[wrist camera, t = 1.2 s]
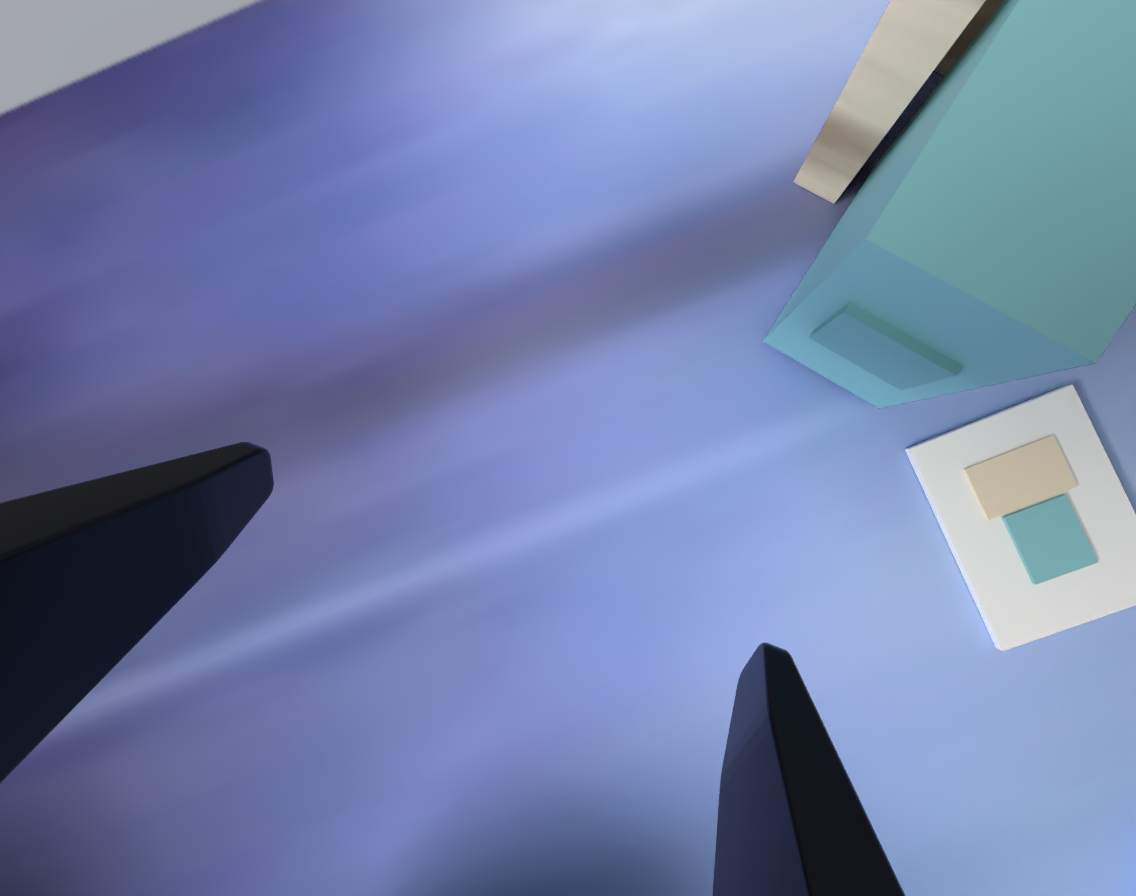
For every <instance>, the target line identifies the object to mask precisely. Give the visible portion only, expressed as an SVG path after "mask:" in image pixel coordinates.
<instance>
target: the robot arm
mask: <svg viewBox="0 0 1136 896" xmlns="http://www.w3.org/2000/svg"><path fill="white" fill-rule="evenodd" d="M273 486H274V480H273V472H272V465H271V457H270V453H269V452H268V450H267V449H265V448H263V447H260V446H258V445H255V444H252V443H249V442H241V443H237V444H233V445H229V446H225V447H221V448H217V449H213V450H209V451H205V452H201V453H197V454H193V455H189V456H185V457H181V458H177V459H173V460H169V461H166V462H162V463H158V464H154V465H150V466H146V467H142V468H138V469H134V470H130V471H126V472H122V473H118V474H114V475H110V476H106V477H102V478H98V479H94V480H90V481H86V482H82V483H78V484H74V485H70V486H66V487H62V488H58V489H54V490H50V491H46V492H42V493H38V494H34V495H30V496H26V497H22V498H18V499H14V500H10V501H6V502H2V503H0V783H1V782H2V781H3V780H4V779H5V778H6V777H7V776H8V775H9V774H10V773H11V772H12V771H13V770H14V769H15V767H16V766H17V765H18V764H19V763H20V762H21V761H22V760H23V759H24V758H25V757H26V756H27V755H28V754H29V753H30V752H31V751H32V750H33V749H34V748H35V747H36V746H37V745H38V744H39V743H40V742H41V741H42V740H43V739H44V738H45V737H46V736H47V735H48V734H49V733H50V732H51V731H52V730H53V729H54V728H55V727H56V726H57V725H58V724H59V723H60V722H61V721H62V720H63V718H64V717H65V716H66V715H67V714H68V713H69V712H70V711H71V710H72V709H73V708H74V707H75V706H76V705H77V704H78V703H79V702H80V701H81V700H82V699H83V698H84V697H85V696H86V695H87V694H88V693H89V692H90V691H91V690H92V689H93V688H94V687H95V686H96V685H97V684H98V683H99V682H100V681H101V680H102V679H103V678H104V677H105V676H106V675H107V674H108V673H109V672H110V671H111V669H112V668H113V667H114V666H115V665H116V664H117V663H118V662H119V661H120V660H121V659H122V658H123V657H124V656H125V655H126V654H127V653H128V652H129V651H130V650H131V649H132V648H133V647H134V646H135V645H136V644H137V643H138V642H139V641H140V640H141V639H142V638H143V637H144V636H145V635H146V634H147V633H148V632H149V631H150V630H151V629H152V628H153V627H154V626H155V625H156V624H157V623H158V622H159V621H160V619H161V618H162V617H163V616H164V615H165V614H166V613H167V612H168V611H169V610H170V609H171V608H172V607H173V606H174V605H175V604H176V603H177V602H178V601H179V600H180V599H181V598H182V597H183V596H184V595H185V594H186V593H187V592H188V591H189V590H190V589H191V588H192V587H193V586H194V585H195V584H196V583H197V582H198V581H199V580H200V579H201V578H202V577H203V576H204V575H205V574H206V573H207V571H208V570H209V569H210V568H211V567H212V566H213V565H214V564H215V563H216V562H217V561H218V559H219V558H220V557H221V556H222V555H223V554H224V552H225V551H226V550H227V549H228V548H229V546H230V545H231V544H232V543H233V541H234V540H235V539H236V538H237V536H238V535H239V534H240V533H241V531H242V530H243V529H244V528H245V526H246V525H247V524H248V523H249V521H250V520H251V519H252V518H253V516H254V515H255V514H256V513H257V511H258V510H259V509H260V508H261V506H262V505H263V504H264V503H265V501H266V500H267V499H268V497H269V496H270V494H271V492H272V490H273ZM713 896H905V894H904V892H903V890H902V888H901V886H900V884H899V882H898V880H897V878H896V875H895V873H894V871H893V869H892V867H891V865H890V863H889V861H888V859H887V856H886V854H885V852H884V850H883V848H882V846H881V844H880V842H879V840H878V838H877V835H876V833H875V831H874V829H873V827H872V825H871V823H870V821H869V819H868V817H867V814H866V812H865V810H864V808H863V806H862V804H861V802H860V800H859V798H858V795H857V793H856V791H855V789H854V787H853V785H852V783H851V781H850V779H849V777H848V774H847V772H846V770H845V768H844V766H843V764H842V762H841V760H840V758H839V756H838V753H837V751H836V749H835V747H834V745H833V743H832V741H831V739H830V737H829V734H828V732H827V730H826V728H825V726H824V724H823V722H822V720H821V718H820V716H819V713H818V711H817V709H816V707H815V705H814V703H813V701H812V699H811V697H810V695H809V692H808V690H807V688H806V686H805V684H804V682H803V680H802V678H801V676H800V674H799V671H798V669H797V667H796V665H795V663H794V661H793V659H792V657H791V655H790V654H789V653H788V652H787V651H786V650H784V649H782V648H779V647H776V646H774V645H771V644H769V643H762V644H760V645H759V647H758V648H757V649H756V651H755V652H754V654H753V655H752V657H751V658H750V660H749V661H748V663H747V664H746V666H745V667H744V669H743V670H742V672H741V675H740V677H739V681H738V685H737V690H736V696H735V701H734V707H733V712H732V718H731V723H730V728H729V734H728V739H727V745H726V750H725V756H724V761H723V767H722V773H721V782H720V793H719V808H718V824H717V839H716V854H715V869H714V884H713Z"/></svg>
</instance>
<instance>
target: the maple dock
mask: <svg viewBox="0 0 1136 896" xmlns="http://www.w3.org/2000/svg"><path fill="white" fill-rule="evenodd" d="M1003 1H1004V0H891V1H890V2H889V4H888V6H887V8H886V10H885V12H884V14H883V16H882V17H881V19H880V21H879V23H878V25H877V27H876V29H875V30H874V32H873V34H872V36H871V38H870V40H869V42H868V43H867V45H866V47H865V49H864V51H863V53H862V55H861V57H860V58H859V60H858V62H857V64H856V66H855V68H854V70H853V71H852V73H851V75H850V77H849V79H848V81H847V83H846V84H845V86H844V88H843V90H842V92H841V94H840V96H839V98H838V99H837V101H836V103H835V105H834V107H833V109H832V111H831V112H830V114H829V116H828V118H827V120H826V122H825V124H824V125H823V127H822V129H821V131H820V133H819V135H818V137H817V139H816V140H815V142H814V144H813V146H812V148H811V150H810V152H809V153H808V155H807V157H806V159H805V161H804V163H803V165H802V167H801V168H800V170H799V172H798V174H797V176H796V178H795V180H794V181H793V182H794V183H796V184H797V185H799V186H801V187H803V188H805V189H807V190H809V191H811V192H812V193H814V194H816V195H818V196H820V197H822V198H824V199H825V200H827V201H829V202H831V203H833V204H835V202H836V201H837V200H838V198H839V197H840V196H841V194H842V193H843V191H844V190H845V189H846V187H847V186H848V185H849V183H850V182H851V181H852V179H853V178H854V177H855V175H856V174H857V173H858V171H859V170H860V169H861V167H862V166H863V165H864V163H865V162H866V161H867V159H868V158H869V157H870V155H871V154H872V153H873V151H874V150H875V149H876V147H877V146H878V144H879V143H880V142H881V140H882V139H883V138H884V136H885V135H886V134H887V132H888V131H889V130H890V128H891V127H892V126H893V124H894V123H895V122H896V120H897V119H898V118H899V116H900V115H901V114H902V112H903V111H904V110H905V108H906V107H907V106H908V104H909V103H910V102H911V100H912V99H913V97H914V96H915V95H916V93H917V92H918V91H919V89H920V88H921V87H922V85H923V84H924V83H925V81H926V80H927V79H928V77H929V76H930V75H931V73H932V72H933V71H935V72H937V73H939V74H941V75H943V76H945V75H946V73H947V72H948V71H949V69H950V68H951V67H952V66H953V64H954V63H955V62H956V61H957V59H958V58H959V57H960V55H961V54H962V53H963V52H964V50H965V49H966V48H967V47H968V45H969V44H970V43H971V41H972V40H973V39H974V38H975V36H976V35H977V34H978V32H979V31H980V30H981V29H982V27H983V26H984V25H985V24H986V22H987V21H988V20H989V18H990V17H991V16H992V15H993V13H994V12H995V11H996V9H997V8H998V7H999V6H1000V4H1001V3H1002V2H1003Z"/></svg>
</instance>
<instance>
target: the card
mask: <svg viewBox="0 0 1136 896" xmlns="http://www.w3.org/2000/svg"><path fill="white" fill-rule="evenodd" d="M905 451H906V453H907V455H908V457H909V460H910V462H911V464H912V466H913V468H914V471H915V473H916V475H917V477H918V479H919V481H920V484H921V486H922V488H923V490H924V492H925V494H926V497H927V499H928V501H929V503H930V505H931V508H932V510H933V512H934V514H935V516H936V518H937V521H938V523H939V525H940V527H941V529H942V531H943V534H944V536H945V538H946V540H947V542H948V545H949V547H950V549H951V551H952V553H953V555H954V558H955V560H956V562H957V564H958V566H959V568H960V571H961V573H962V575H963V577H964V579H965V582H966V584H967V586H968V588H969V590H970V592H971V595H972V597H973V599H974V601H975V603H976V605H977V608H978V610H979V612H980V614H981V616H982V618H983V621H984V623H985V625H986V627H987V629H988V632H989V634H990V636H991V638H992V640H993V642H994V645H995V647H996V648H997V649H999V650H1001V651H1005V650H1008V649H1011V648H1014V647H1017V646H1020V645H1023V644H1026V643H1028V642H1031V641H1034V640H1037V639H1040V638H1043V637H1046V636H1049V635H1051V634H1054V633H1057V632H1060V631H1063V630H1066V629H1069V628H1072V627H1075V626H1077V625H1080V624H1083V623H1086V622H1089V621H1092V620H1095V619H1098V618H1101V617H1103V616H1106V615H1109V614H1112V613H1115V612H1118V611H1121V610H1124V609H1127V608H1129V607H1132V606H1135V605H1136V513H1135V511H1134V509H1133V507H1132V505H1131V503H1130V501H1129V499H1128V497H1127V495H1126V493H1125V491H1124V489H1123V487H1122V485H1121V483H1120V481H1119V478H1118V476H1117V474H1116V472H1115V470H1114V468H1113V466H1112V464H1111V462H1110V460H1109V458H1108V456H1107V454H1106V452H1105V450H1104V448H1103V445H1102V443H1101V441H1100V439H1099V437H1098V435H1097V433H1096V431H1095V429H1094V427H1093V425H1092V423H1091V421H1090V419H1089V417H1088V415H1087V413H1086V410H1085V408H1084V406H1083V404H1082V402H1081V400H1080V398H1079V396H1078V394H1077V392H1076V390H1075V388H1074V386H1073V384H1072V385H1067V386H1063V387H1061V388H1058V389H1055V390H1053V391H1050V392H1048V393H1045V394H1043V395H1040V396H1038V397H1035V398H1033V399H1030V400H1028V401H1025V402H1023V403H1020V404H1018V405H1015V406H1013V407H1010V408H1007V409H1005V410H1002V411H1000V412H997V413H995V414H992V415H990V416H987V417H985V418H982V419H980V420H977V421H975V422H972V423H970V424H967V425H965V426H962V427H959V428H957V429H954V430H952V431H949V432H947V433H944V434H942V435H939V436H937V437H934V438H932V439H929V440H927V441H924V442H922V443H919V444H917V445H914V446H911V447H909V448H906V449H905Z"/></svg>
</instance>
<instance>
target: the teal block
mask: <svg viewBox="0 0 1136 896" xmlns="http://www.w3.org/2000/svg"><path fill="white" fill-rule="evenodd" d="M1135 305H1136V0H1004V1H1003V2H1002V3H1001V4H1000V6H999V7H998V8H997V9H996V11H995V12H994V13H993V15H992V16H991V17H990V18H989V20H988V21H987V22H986V24H985V25H984V26H983V27H982V29H981V30H980V31H979V32H978V34H977V35H976V36H975V38H974V39H973V40H972V41H971V43H970V44H969V45H968V47H967V48H966V49H965V50H964V52H963V53H962V54H961V55H960V57H959V58H958V59H957V61H956V62H955V63H954V64H953V66H952V67H951V68H950V69H949V71H948V72H947V73H946V75H945V76H944V77H943V78H942V80H941V81H940V82H939V84H938V85H937V86H936V87H935V89H934V90H933V91H932V92H931V94H930V95H929V96H928V98H927V99H926V100H925V101H924V103H923V104H922V105H921V106H920V108H919V109H918V110H917V112H916V113H915V114H914V115H913V117H912V118H911V119H910V121H909V122H908V123H907V124H906V126H905V127H904V128H903V129H902V131H901V132H900V133H899V135H898V136H897V137H896V138H895V140H894V141H893V142H892V143H891V145H890V146H889V147H888V149H887V150H886V151H885V152H884V154H883V155H882V156H881V158H880V159H879V160H878V161H877V163H876V165H875V166H874V168H873V169H872V171H871V172H870V174H869V175H868V177H867V179H866V180H865V182H864V183H863V185H862V186H861V188H860V190H859V191H858V193H857V194H856V196H855V197H854V199H853V201H852V202H851V204H850V205H849V207H848V208H847V210H846V211H845V213H844V215H843V216H842V218H841V219H840V221H839V222H838V224H837V226H836V227H835V229H834V230H833V232H832V233H831V235H830V237H829V238H828V240H827V241H826V243H825V244H824V246H823V247H822V249H821V251H820V252H819V254H818V255H817V257H816V258H815V260H814V262H813V263H812V265H811V266H810V268H809V269H808V271H807V273H806V274H805V276H804V277H803V279H802V280H801V282H800V283H799V285H798V287H797V288H796V290H795V291H794V293H793V294H792V296H791V298H790V299H789V301H788V302H787V304H786V305H785V307H784V309H783V310H782V312H781V313H780V315H779V316H778V318H777V319H776V321H775V323H774V324H773V326H772V327H771V329H770V330H769V332H768V334H767V335H766V337H765V338H764V340H763V342H764V343H766V344H768V345H770V346H771V347H773V348H775V349H776V350H778V351H780V352H782V353H783V354H785V355H787V356H789V357H790V358H792V359H794V360H796V361H797V362H799V363H801V364H802V365H804V366H806V367H808V368H809V369H811V370H813V371H815V372H816V373H818V374H820V375H821V376H823V377H825V378H827V379H828V380H830V381H832V382H834V383H835V384H837V385H839V386H841V387H842V388H844V389H846V390H847V391H849V392H851V393H853V394H854V395H856V396H858V397H860V398H861V399H863V400H865V401H866V402H868V403H870V404H872V405H873V406H875V407H877V408H879V409H880V408H884V407H889V406H894V405H899V404H903V403H908V402H913V401H918V400H922V399H927V398H932V397H937V396H941V395H946V394H951V393H956V392H961V391H965V390H970V389H975V388H980V387H984V386H989V385H994V384H999V383H1003V382H1008V381H1013V380H1018V379H1022V378H1027V377H1032V376H1037V375H1042V374H1046V373H1051V372H1056V371H1061V370H1065V369H1070V368H1075V367H1080V366H1084V365H1089V364H1094V363H1096V362H1097V361H1098V359H1099V358H1100V356H1101V355H1102V353H1103V352H1104V350H1105V349H1106V347H1107V346H1108V344H1109V343H1110V341H1111V340H1112V339H1113V337H1114V336H1115V334H1116V333H1117V331H1118V330H1119V328H1120V327H1121V325H1122V324H1123V322H1124V321H1125V319H1126V318H1127V316H1128V315H1129V314H1130V312H1131V311H1132V309H1133V308H1134V306H1135Z"/></svg>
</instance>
